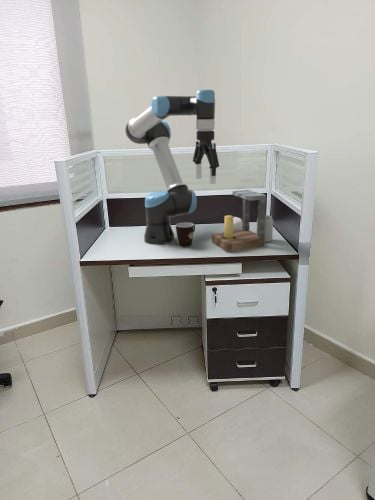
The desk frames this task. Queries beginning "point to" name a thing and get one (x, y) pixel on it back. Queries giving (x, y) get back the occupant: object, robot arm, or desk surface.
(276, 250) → the desk surface
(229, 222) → the peg
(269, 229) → the can
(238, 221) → the white rounded lump
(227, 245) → the socket board
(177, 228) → the coffee mug
